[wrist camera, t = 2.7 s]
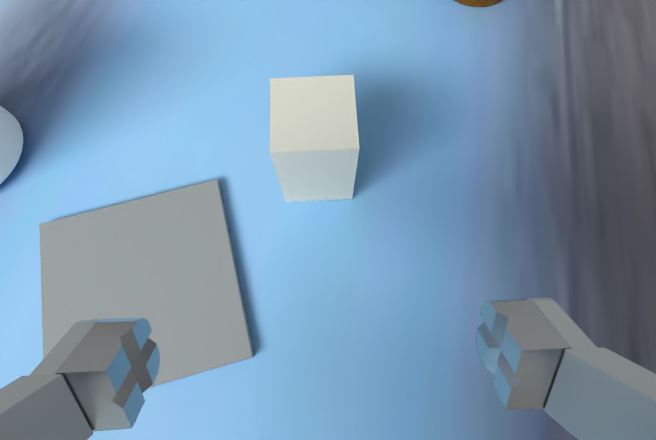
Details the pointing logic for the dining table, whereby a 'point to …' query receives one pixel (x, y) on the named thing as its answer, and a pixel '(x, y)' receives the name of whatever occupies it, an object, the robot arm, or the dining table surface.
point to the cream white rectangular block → (314, 136)
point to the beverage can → (9, 143)
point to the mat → (150, 277)
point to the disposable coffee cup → (478, 2)
